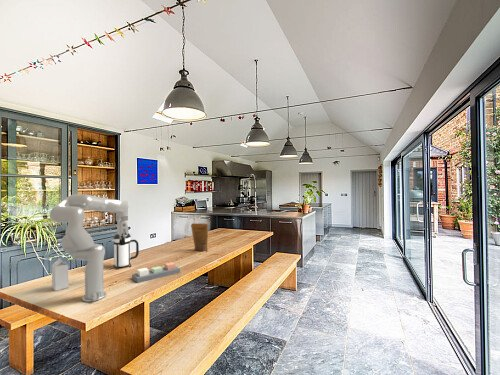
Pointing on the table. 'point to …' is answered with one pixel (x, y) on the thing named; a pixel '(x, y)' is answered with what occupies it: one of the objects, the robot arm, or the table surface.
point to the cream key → (142, 272)
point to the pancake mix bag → (200, 236)
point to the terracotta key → (169, 266)
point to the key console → (155, 274)
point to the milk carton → (59, 275)
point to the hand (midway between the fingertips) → (122, 244)
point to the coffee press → (123, 251)
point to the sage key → (156, 269)
